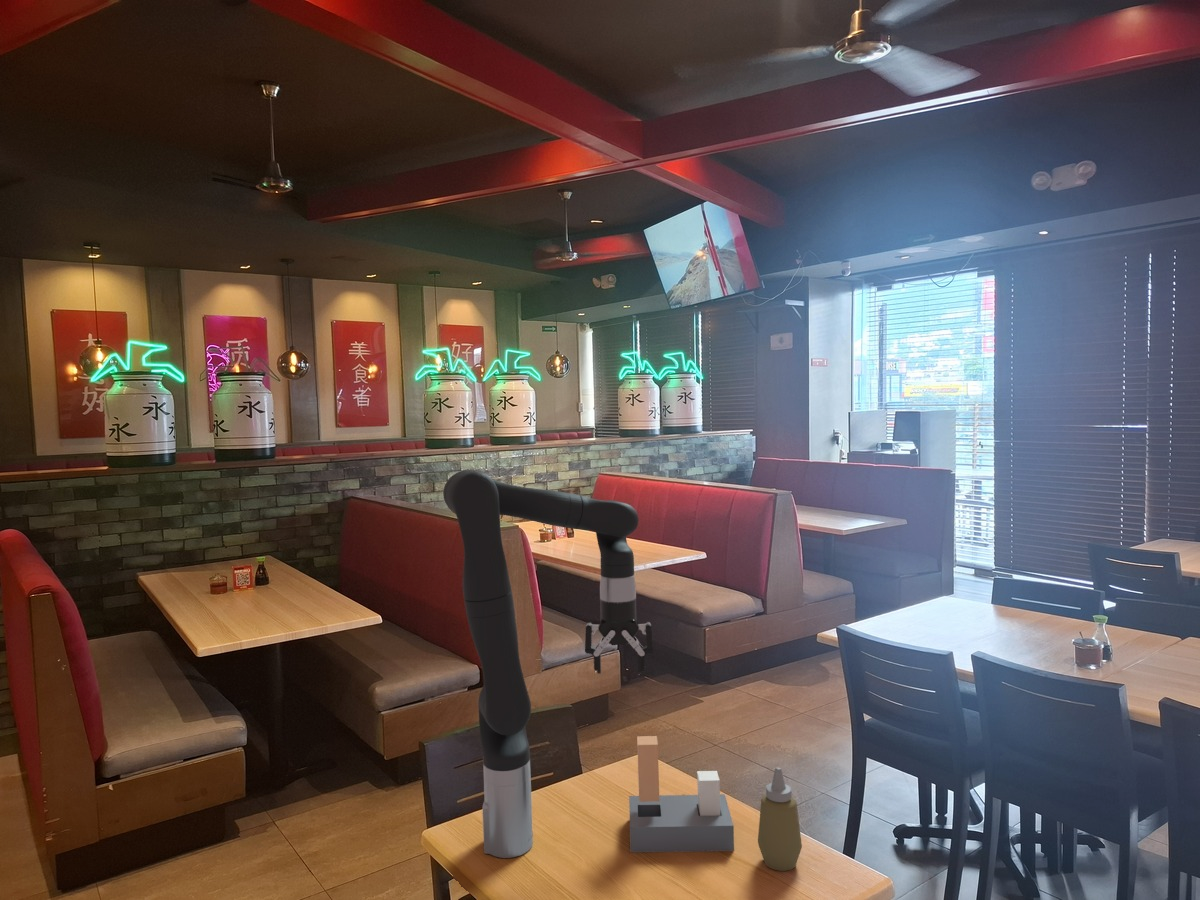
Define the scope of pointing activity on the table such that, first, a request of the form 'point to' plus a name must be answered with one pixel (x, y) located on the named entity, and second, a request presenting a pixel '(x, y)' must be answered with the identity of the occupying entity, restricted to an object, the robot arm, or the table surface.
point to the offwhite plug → (708, 793)
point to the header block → (678, 825)
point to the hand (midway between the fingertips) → (619, 672)
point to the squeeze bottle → (779, 825)
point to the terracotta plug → (648, 768)
